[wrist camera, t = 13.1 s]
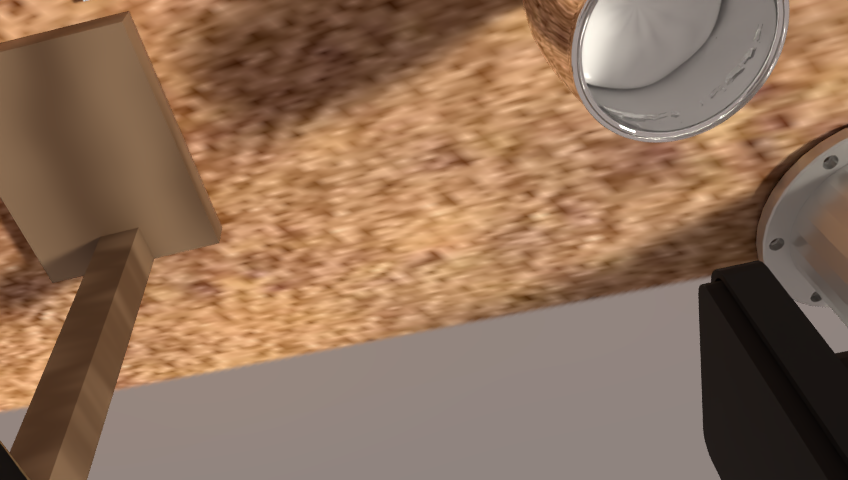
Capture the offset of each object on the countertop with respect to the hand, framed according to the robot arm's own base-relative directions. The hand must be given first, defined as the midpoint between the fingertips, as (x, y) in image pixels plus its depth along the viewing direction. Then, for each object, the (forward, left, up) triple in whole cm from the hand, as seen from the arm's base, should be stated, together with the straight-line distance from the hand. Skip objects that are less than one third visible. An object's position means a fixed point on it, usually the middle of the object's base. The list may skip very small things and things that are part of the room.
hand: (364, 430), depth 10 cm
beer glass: (-10, +2, -29) cm, 31 cm away
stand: (+14, +7, -29) cm, 33 cm away
